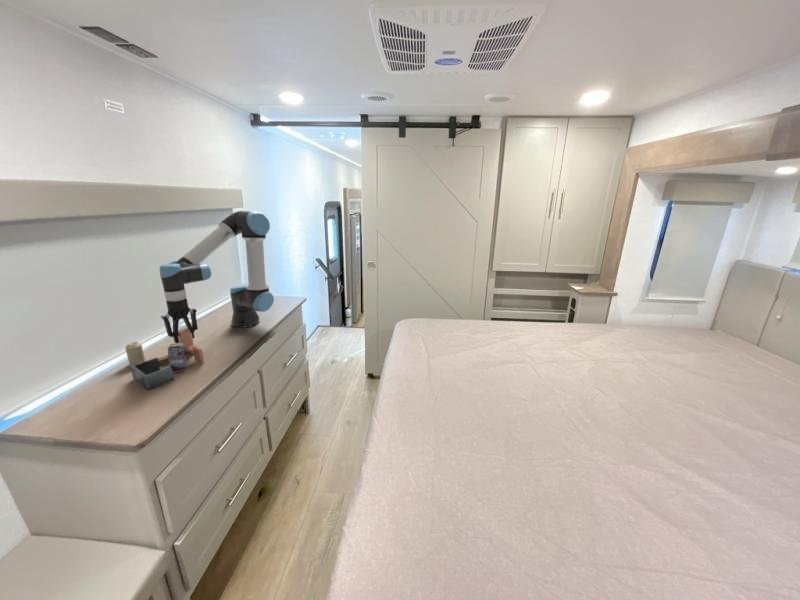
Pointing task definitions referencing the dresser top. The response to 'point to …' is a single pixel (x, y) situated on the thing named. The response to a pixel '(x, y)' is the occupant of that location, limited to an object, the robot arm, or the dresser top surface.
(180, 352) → the beverage can
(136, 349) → the candle
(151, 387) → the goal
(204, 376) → the dresser top surface
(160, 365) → the rail
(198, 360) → the kicker
